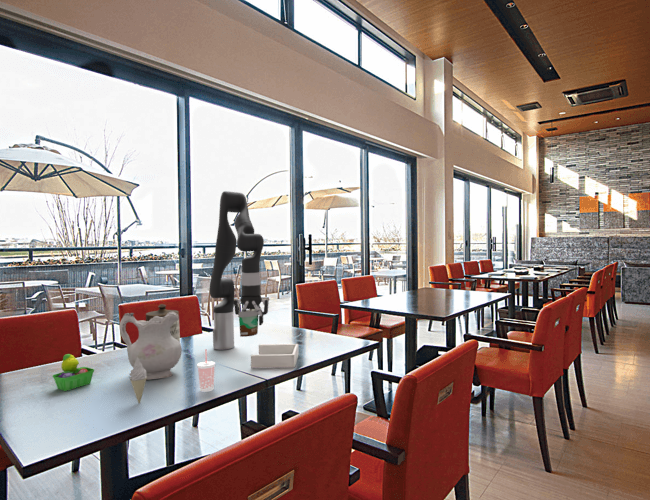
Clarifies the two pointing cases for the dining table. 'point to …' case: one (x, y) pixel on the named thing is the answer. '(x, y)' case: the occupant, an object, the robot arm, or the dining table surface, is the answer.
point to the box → (275, 356)
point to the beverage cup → (206, 374)
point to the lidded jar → (161, 313)
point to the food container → (248, 322)
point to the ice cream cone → (138, 379)
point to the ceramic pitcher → (153, 344)
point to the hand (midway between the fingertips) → (251, 324)
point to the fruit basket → (72, 374)
